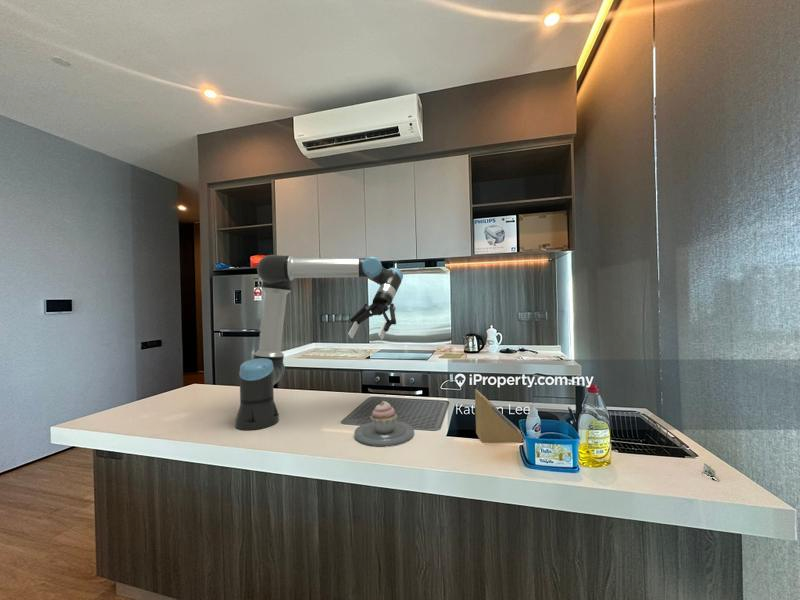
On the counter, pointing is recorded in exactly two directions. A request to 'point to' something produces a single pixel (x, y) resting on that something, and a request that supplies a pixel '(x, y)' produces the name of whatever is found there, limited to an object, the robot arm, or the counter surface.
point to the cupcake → (384, 418)
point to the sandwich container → (493, 423)
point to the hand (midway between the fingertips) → (364, 336)
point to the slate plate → (384, 435)
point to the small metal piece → (709, 471)
